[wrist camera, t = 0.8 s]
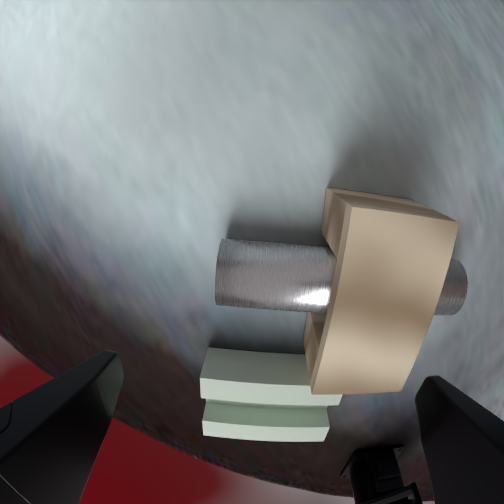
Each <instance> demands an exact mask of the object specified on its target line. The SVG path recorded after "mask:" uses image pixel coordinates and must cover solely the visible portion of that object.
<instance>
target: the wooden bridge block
mask: <svg viewBox="0 0 504 504" xmlns="http://www.w3.org/2000/svg"><path fill="white" fill-rule="evenodd" d="M458 226H459V222H457V221H455V220H453V219H451V218H449V217H447V216H445V215H443V214H441V213H439V212H437V211H435V210H433V209H431V208H428V207H426V206H424V205H422V204H420V203H418V202H415V201H413V200H410V199H404V198H398V197H391V196H385V195H378V194H371V193H364V192H357V191H349V190H342V189H334V188H326V195H325V203H324V211H323V219H322V226H321V233H322V234H323V236H324V238H325V239H326V241H327V243H328V244H329V246H330V248H331V249H332V251H333V253H334V254H335V256H336V258H337V264H336V269H335V275H334V280H333V285H332V290H331V295H330V300H329V305H328V310H327V313H315V312H308V314H307V320H306V325H305V330H304V335H303V343H304V349H305V355H306V361H307V368H308V374H309V380H310V387H311V393H312V395H336V394H366V393H383V392H396V391H401V390H402V388H403V386H404V384H405V382H406V380H407V377H408V375H409V373H410V371H411V369H412V367H413V364H414V362H415V360H416V358H417V355H418V353H419V350H420V348H421V346H422V343H423V341H424V338H425V336H426V333H427V331H428V328H429V325H430V323H431V320H432V317H433V314H434V312H435V309H436V306H437V303H438V300H439V297H440V294H441V291H442V287H443V284H444V281H445V278H446V274H447V271H448V267H449V263H450V260H451V256H452V252H453V248H454V244H455V240H456V236H457V231H458Z"/></svg>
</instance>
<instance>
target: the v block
mask: <svg viewBox="0 0 504 504" xmlns="http://www.w3.org/2000/svg"><path fill="white" fill-rule="evenodd" d="M200 388H201V398H206V406H205V411H204V415H203V420H202V422H203V435H208V436H216V437H224V438H235V439H246V440H262V441H294V442H307V441H324V439H325V437H326V435H327V432H328V430H329V428H330V426H329V420H328V415H327V407H328V405H339V403H340V400H341V398H342V395H343V394H336V395H312V393H311V387H310V380H309V374H308V368H307V361H306V355H305V354H284V353H267V352H254V351H242V350H231V349H221V348H211V347H208V349H207V353H206V357H205V361H204V364H203V368H202V372H201V376H200Z"/></svg>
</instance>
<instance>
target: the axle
mask: <svg viewBox="0 0 504 504" xmlns="http://www.w3.org/2000/svg"><path fill="white" fill-rule="evenodd" d="M336 264H337V258H336V256H335V254H334V253H333V251H332V249H331V248H330V247H321V246H310V245H298V244H286V243H274V242H262V241H249V240H236V239H224V238H222V239H221V242H220V246H219V251H218V257H217V265H216V276H215V301H216V305H221V306H231V307H243V308H255V309H268V310H282V311H297V312H315V313H327V310H328V305H329V300H330V295H331V290H332V285H333V280H334V275H335V269H336ZM466 294H467V275H466V271H465V269H464V267H463V265H462V263H461V262H460V261H458V260H456V259H451V260H450V263H449V267H448V271H447V274H446V278H445V281H444V284H443V287H442V291H441V294H440V297H439V300H438V303H437V306H436V309H435V312H434V314H433V315H454V314H456V313H457V312H458V311H459V310H460V309H461V307H462V305H463V303H464V301H465V298H466Z"/></svg>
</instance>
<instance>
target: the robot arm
mask: <svg viewBox="0 0 504 504" xmlns="http://www.w3.org/2000/svg"><path fill="white" fill-rule="evenodd" d="M123 377H124V374H123V368H122V363H121V358H120V355H119V353H117V352H114V351H110V350H104V351H102V352H100V353H98V354H96V355H95V356H93V357H91V358H89V359H88V360H86V361H84V362H82V363H80V364H79V365H77V366H75V367H73V368H72V369H70V370H68V371H66V372H64V373H63V374H61V375H59V376H57V377H55V378H54V379H52V380H50V381H48V382H47V383H45V384H43V385H41V386H39V387H38V388H36V389H34V390H33V391H31V392H29V393H27V394H25V395H23V396H21V397H19V398H18V399H16V400H14V401H13V403H12V402H10V403H9V404H7V405H5V406H3V407H1V408H0V504H79V502H80V499H81V496H82V493H83V491H84V488H85V485H86V483H87V480H88V477H89V475H90V472H91V470H92V467H93V464H94V462H95V460H96V457H97V455H98V452H99V450H100V447H101V445H102V442H103V440H104V437H105V435H106V433H107V430H108V428H109V425H110V422H111V419H112V416H113V413H114V409H115V406H116V402H117V399H118V396H119V392H120V389H121V386H122V382H123ZM415 404H416V410H417V415H418V422H419V428H420V435H421V441H422V445H423V450H424V454H425V458H426V462H427V467H428V471H429V476H430V480H431V485H432V490H433V495H434V501H435V504H504V421H503V420H501V419H500V418H498V417H497V416H495V415H494V414H493V413H491V412H490V411H488V410H487V409H486V408H484V407H483V406H481V405H480V404H478V403H477V402H476V401H474V400H473V399H471V398H470V397H469V396H467V395H466V394H464V393H463V392H461V391H460V390H459V389H457V388H456V387H454V386H453V385H451V384H450V383H449V382H447V381H446V380H444V379H443V378H441V377H440V376H428V377H427V378H425V380H424V382H423V383H422V385H421V387H420V389H419V391H418V392H417V394H416V397H415ZM403 449H404V446H403V445H397V446H390V447H383V448H376V449H367V450H358V451H355V452H354V453H353V455H352V456H351V458H350V460H349V461H348V463H347V464H346V466H345V468H344V469H343V471H342V472H341V474H340V478H351V483H352V489H353V495H354V500H355V504H423V503H422V500H421V498H420V495H419V492H418V489H417V486H416V483H415V482H414V483H411V484H410V485H408V486H406V487H404V484H403V480H402V477H401V472H400V469H399V465H398V462H397V457H398V456H399V455H400V453H401V452H402V451H403Z"/></svg>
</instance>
